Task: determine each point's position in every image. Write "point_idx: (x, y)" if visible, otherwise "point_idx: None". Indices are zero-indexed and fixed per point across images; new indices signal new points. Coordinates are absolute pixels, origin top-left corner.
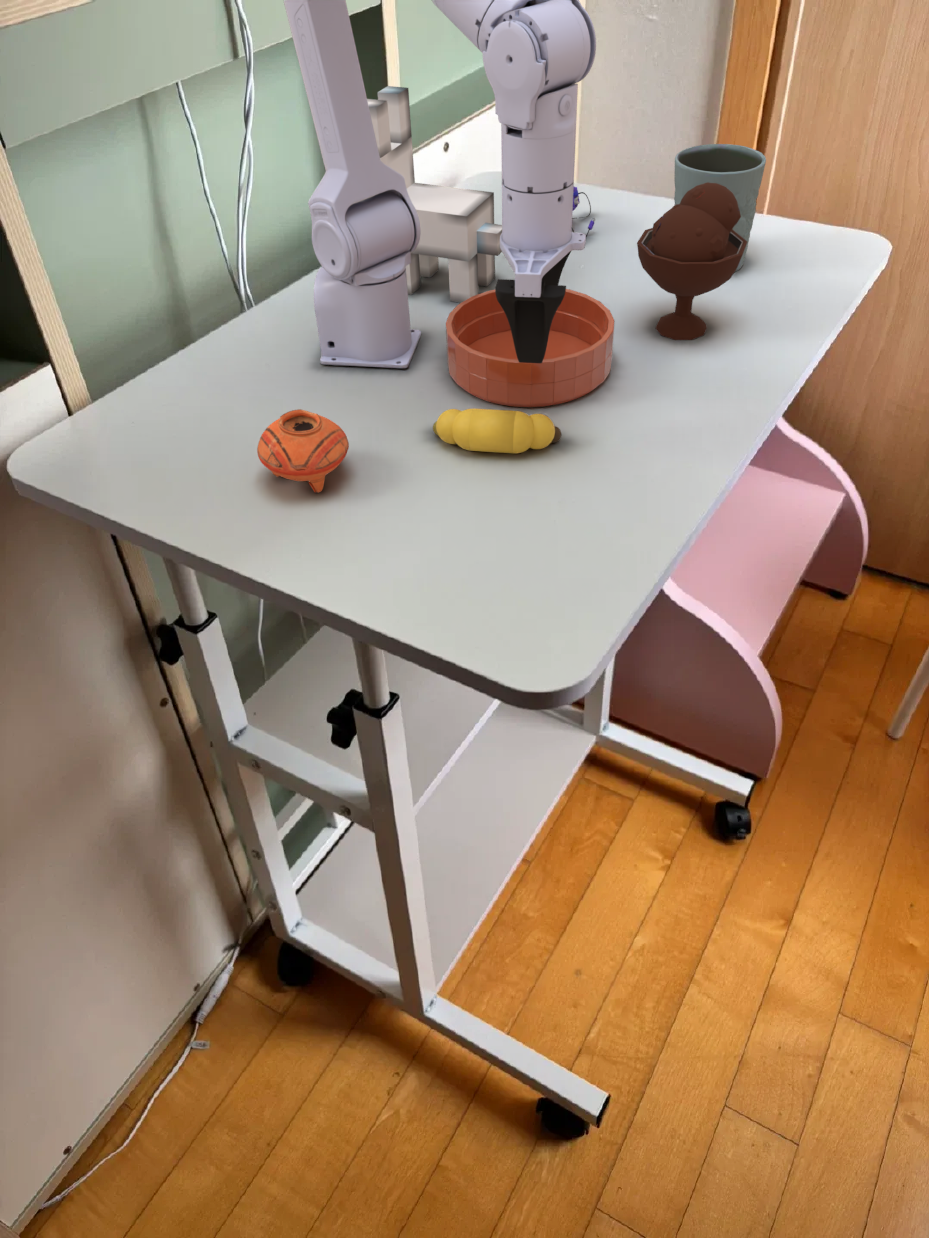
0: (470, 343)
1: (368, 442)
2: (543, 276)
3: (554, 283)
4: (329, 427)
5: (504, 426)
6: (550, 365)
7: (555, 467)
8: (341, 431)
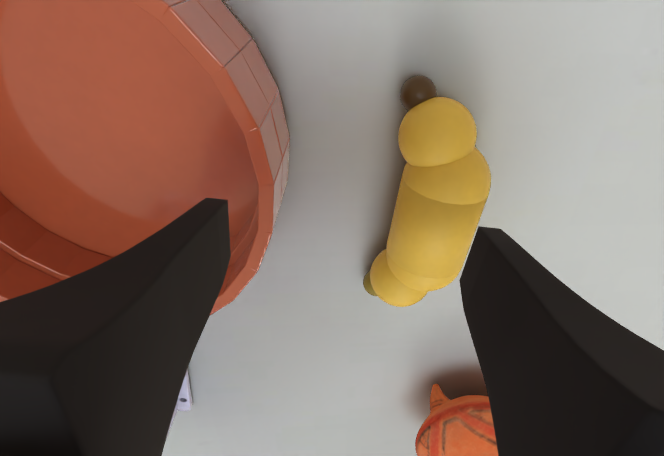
0: (73, 244)
1: (389, 351)
2: (165, 330)
3: (173, 276)
4: (487, 450)
5: (476, 217)
6: (263, 134)
7: (514, 86)
8: (473, 427)
